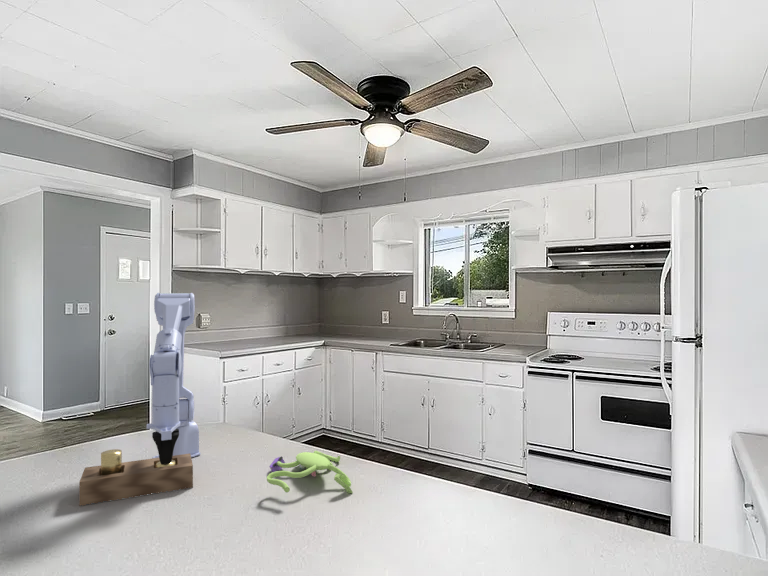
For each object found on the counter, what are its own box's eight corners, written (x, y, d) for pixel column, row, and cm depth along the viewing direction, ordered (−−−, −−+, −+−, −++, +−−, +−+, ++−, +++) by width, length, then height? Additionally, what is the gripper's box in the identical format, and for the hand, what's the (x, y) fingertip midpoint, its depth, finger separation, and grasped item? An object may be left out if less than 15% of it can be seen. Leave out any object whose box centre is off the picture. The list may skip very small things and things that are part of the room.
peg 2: (175, 479, 115) (175, 458, 115) (175, 486, 112) (175, 464, 112) (156, 482, 114) (156, 461, 114) (156, 489, 110) (156, 466, 110)
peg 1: (122, 470, 111) (122, 448, 111) (121, 476, 107) (121, 453, 107) (101, 473, 109) (101, 450, 109) (100, 479, 105) (100, 456, 105)
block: (190, 473, 119) (190, 453, 119) (192, 487, 111) (192, 465, 111) (85, 489, 110) (85, 467, 110) (79, 505, 102) (79, 481, 102)
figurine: (266, 510, 101) (266, 483, 101) (267, 464, 127) (267, 442, 127) (355, 501, 105) (355, 474, 105) (338, 458, 131) (338, 437, 131)
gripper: (146, 399, 118) (147, 455, 118) (145, 413, 104) (146, 476, 104) (178, 396, 121) (178, 451, 121) (181, 409, 107) (181, 471, 107)
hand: (165, 463), depth 113 cm, fingers closed, pressing on peg 2
